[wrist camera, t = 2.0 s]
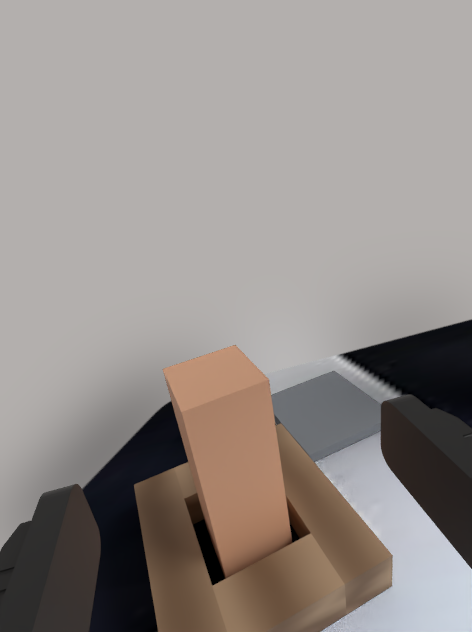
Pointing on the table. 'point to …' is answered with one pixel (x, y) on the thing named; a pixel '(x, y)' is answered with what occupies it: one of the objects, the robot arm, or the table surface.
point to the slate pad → (326, 414)
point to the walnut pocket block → (269, 573)
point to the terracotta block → (232, 454)
